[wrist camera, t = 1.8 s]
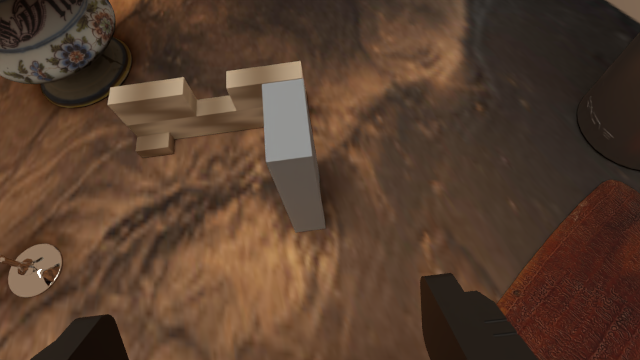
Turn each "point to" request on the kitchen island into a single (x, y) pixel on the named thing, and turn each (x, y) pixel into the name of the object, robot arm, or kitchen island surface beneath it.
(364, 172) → the kitchen island surface
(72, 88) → the apothecary jar
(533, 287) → the wooden tablet
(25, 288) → the wineglass
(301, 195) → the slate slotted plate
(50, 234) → the kitchen island surface
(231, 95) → the birch slotted board
